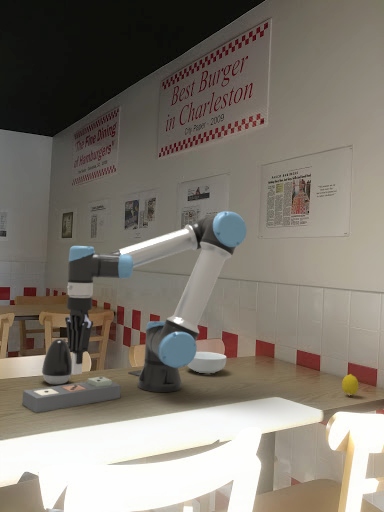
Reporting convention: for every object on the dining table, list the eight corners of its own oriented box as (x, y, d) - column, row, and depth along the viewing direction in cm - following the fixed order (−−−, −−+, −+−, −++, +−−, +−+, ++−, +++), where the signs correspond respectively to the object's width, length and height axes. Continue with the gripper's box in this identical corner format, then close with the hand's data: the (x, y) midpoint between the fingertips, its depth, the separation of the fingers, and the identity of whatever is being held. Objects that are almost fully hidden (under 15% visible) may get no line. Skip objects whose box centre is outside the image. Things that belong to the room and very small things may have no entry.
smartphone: (167, 370, 193) (139, 375, 182) (167, 372, 193) (139, 377, 182) (154, 367, 198) (126, 371, 187) (154, 369, 198) (126, 374, 187)
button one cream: (50, 397, 144) (50, 387, 144) (59, 402, 140) (59, 392, 140) (32, 400, 141) (33, 390, 141) (41, 405, 137) (41, 394, 137)
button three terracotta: (77, 393, 150) (77, 384, 151) (86, 397, 146) (86, 388, 147) (60, 395, 147) (61, 386, 147) (69, 400, 143) (70, 390, 143)
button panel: (104, 391, 159) (105, 379, 159) (120, 397, 153) (120, 385, 153) (22, 404, 140) (23, 390, 140) (36, 412, 134) (37, 398, 134)
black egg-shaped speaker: (76, 380, 171) (78, 337, 171) (65, 387, 161) (68, 342, 161) (48, 378, 172) (51, 335, 172) (36, 385, 162) (39, 339, 162)
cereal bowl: (228, 370, 203) (229, 353, 203) (222, 379, 187) (223, 360, 187) (189, 366, 207) (190, 349, 207) (179, 374, 190) (180, 356, 191)
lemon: (358, 396, 173) (359, 373, 173) (356, 399, 168) (358, 376, 168) (342, 393, 175) (343, 371, 175) (340, 397, 170) (341, 374, 170)
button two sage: (102, 384, 157) (102, 375, 157) (111, 388, 153) (112, 379, 153) (87, 387, 153) (87, 377, 153) (96, 391, 149) (97, 381, 149)
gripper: (58, 295, 149) (55, 371, 149) (79, 298, 140) (76, 380, 140) (79, 294, 154) (76, 368, 154) (102, 298, 145) (98, 376, 145)
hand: (76, 373), depth 147 cm, fingers closed
